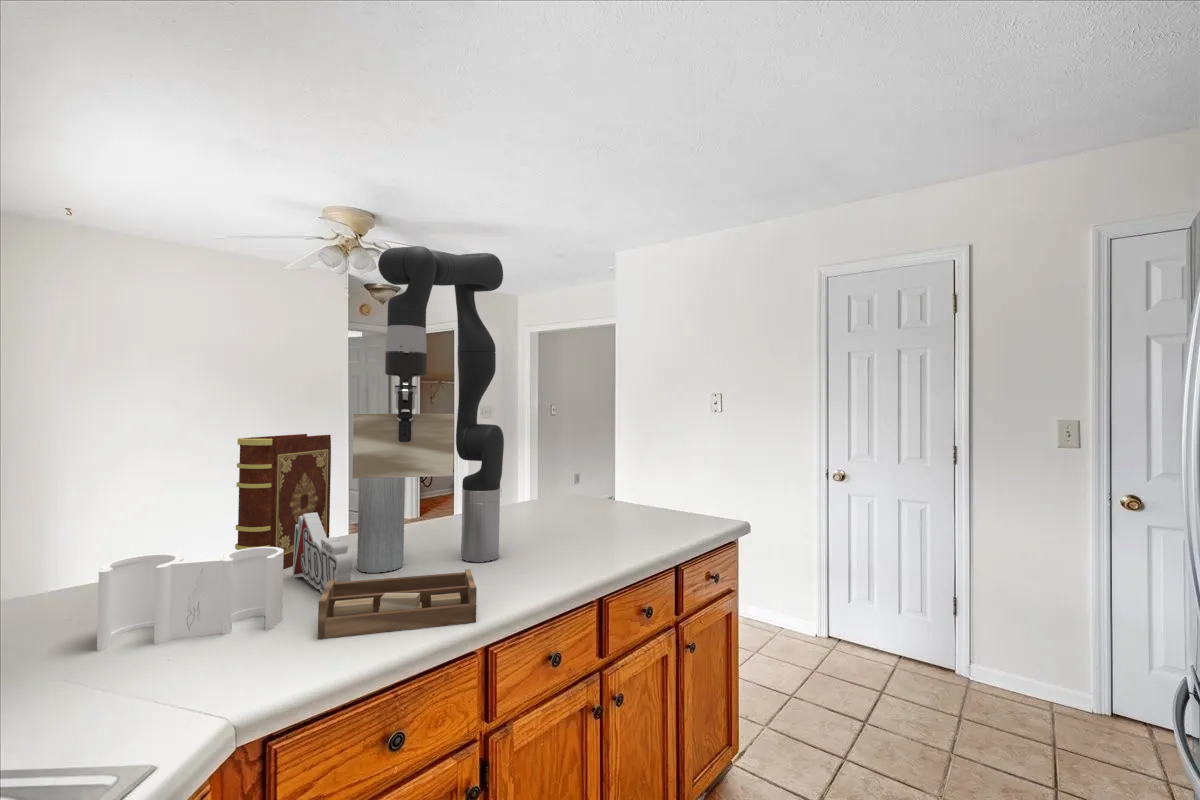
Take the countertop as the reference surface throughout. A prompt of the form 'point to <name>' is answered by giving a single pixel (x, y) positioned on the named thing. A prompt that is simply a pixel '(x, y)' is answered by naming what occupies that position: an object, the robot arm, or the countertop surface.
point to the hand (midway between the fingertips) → (404, 440)
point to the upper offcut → (399, 601)
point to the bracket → (188, 593)
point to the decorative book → (281, 489)
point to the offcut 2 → (445, 600)
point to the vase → (380, 524)
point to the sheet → (402, 446)
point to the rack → (401, 618)
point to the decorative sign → (319, 554)
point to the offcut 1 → (353, 607)
